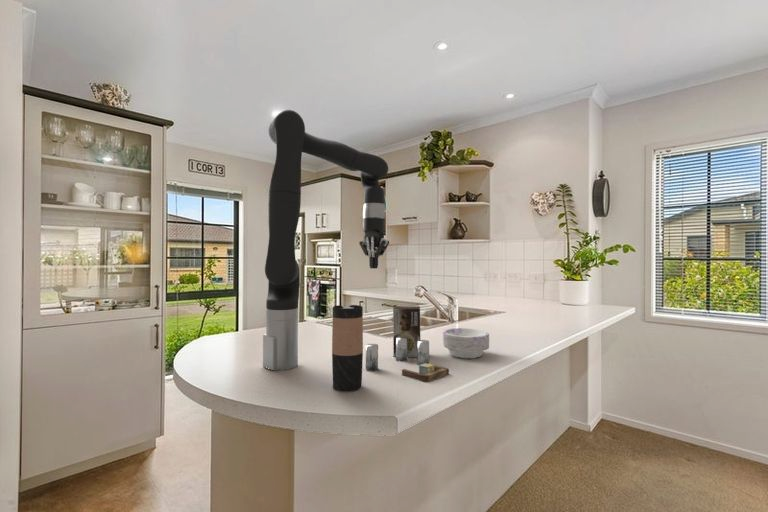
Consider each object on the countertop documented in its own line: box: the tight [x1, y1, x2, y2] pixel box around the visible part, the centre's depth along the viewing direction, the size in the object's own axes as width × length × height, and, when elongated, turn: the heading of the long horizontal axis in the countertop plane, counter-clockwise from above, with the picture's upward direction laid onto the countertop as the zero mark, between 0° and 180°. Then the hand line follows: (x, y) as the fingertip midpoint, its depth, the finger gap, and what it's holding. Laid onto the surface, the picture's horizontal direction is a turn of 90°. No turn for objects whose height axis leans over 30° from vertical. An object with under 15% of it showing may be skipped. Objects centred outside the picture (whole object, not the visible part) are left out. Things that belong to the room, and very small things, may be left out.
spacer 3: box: [416, 339, 430, 366], centre depth 115 cm, size 4×4×7 cm
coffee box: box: [392, 305, 421, 358], centre depth 126 cm, size 9×6×16 cm
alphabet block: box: [418, 363, 435, 374], centre depth 103 cm, size 3×3×3 cm
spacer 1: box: [365, 343, 379, 372], centre depth 109 cm, size 4×4×7 cm
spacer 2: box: [395, 337, 408, 362], centre depth 120 cm, size 4×4×7 cm
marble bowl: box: [442, 327, 490, 359], centre depth 126 cm, size 15×15×8 cm
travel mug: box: [331, 304, 364, 393], centre depth 94 cm, size 8×8×20 cm
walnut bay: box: [401, 363, 450, 383], centre depth 104 cm, size 10×8×2 cm
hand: (373, 268), depth 128 cm, fingers closed
